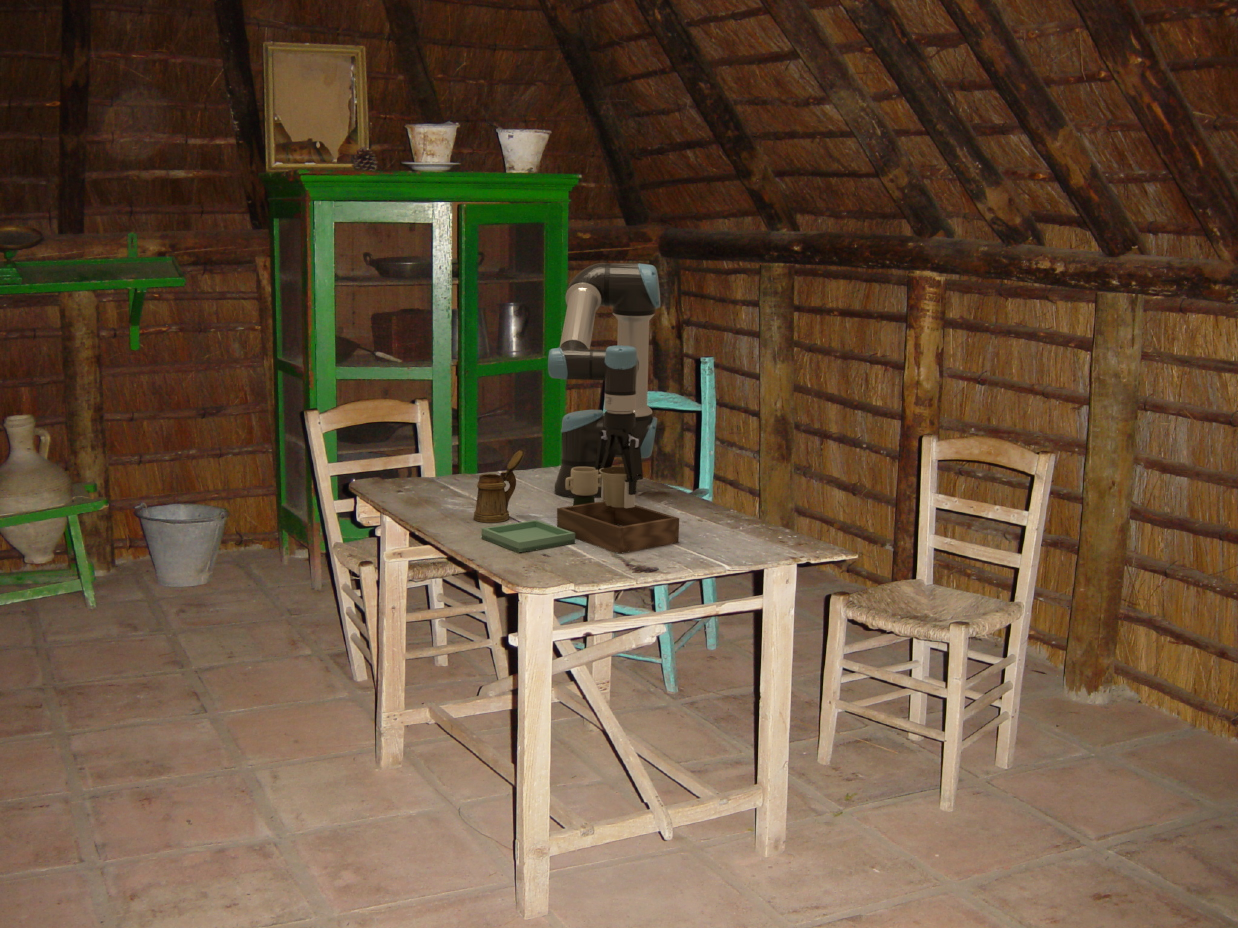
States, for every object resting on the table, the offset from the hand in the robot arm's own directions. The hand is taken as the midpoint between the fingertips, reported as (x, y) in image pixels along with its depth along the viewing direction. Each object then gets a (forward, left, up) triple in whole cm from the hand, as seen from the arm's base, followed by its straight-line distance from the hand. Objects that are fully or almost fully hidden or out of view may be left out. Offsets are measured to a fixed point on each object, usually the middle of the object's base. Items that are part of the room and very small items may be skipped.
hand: (617, 503), depth 293 cm
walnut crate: (0, 0, -8) cm, 8 cm away
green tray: (+20, -9, -8) cm, 24 cm away
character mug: (-5, -20, -8) cm, 22 cm away
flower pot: (0, 0, -1) cm, 1 cm away
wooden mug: (+13, -32, -8) cm, 35 cm away
